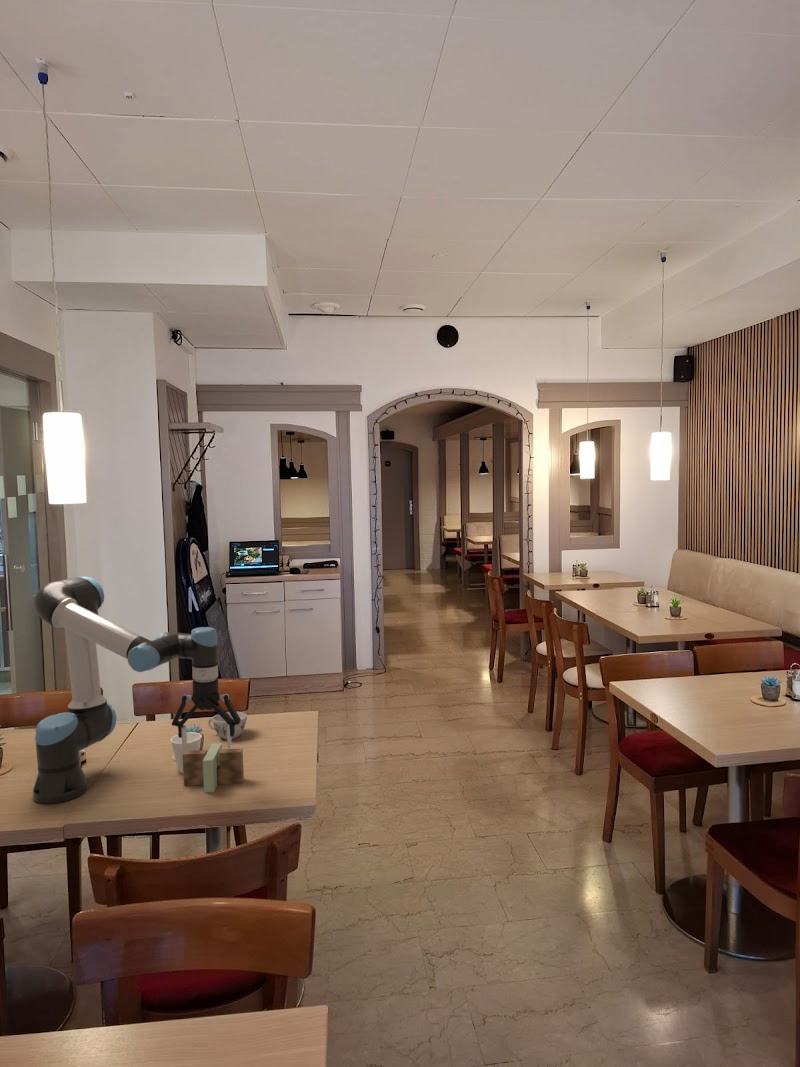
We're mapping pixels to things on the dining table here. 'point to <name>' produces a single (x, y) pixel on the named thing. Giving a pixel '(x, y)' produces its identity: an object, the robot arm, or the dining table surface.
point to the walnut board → (226, 770)
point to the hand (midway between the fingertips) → (207, 747)
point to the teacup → (221, 725)
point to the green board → (211, 767)
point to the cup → (192, 744)
